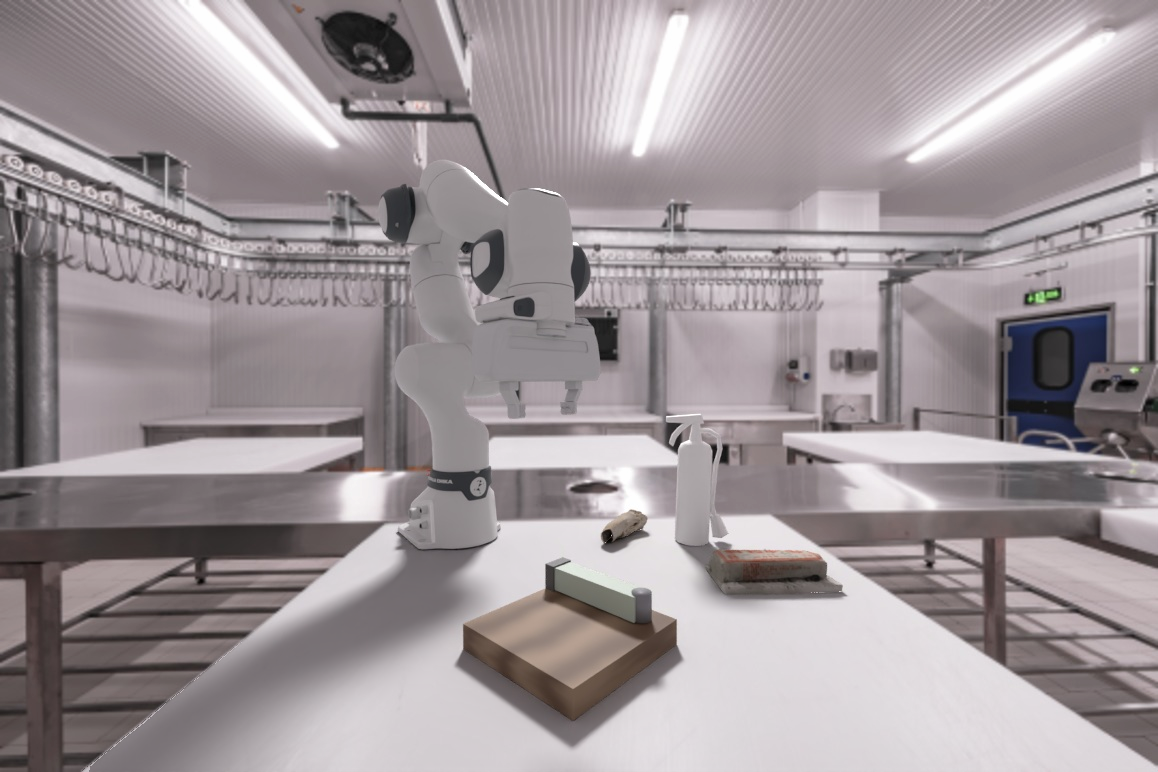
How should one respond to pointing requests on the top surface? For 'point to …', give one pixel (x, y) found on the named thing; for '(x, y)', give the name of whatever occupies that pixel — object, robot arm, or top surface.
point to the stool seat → (566, 648)
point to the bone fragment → (624, 525)
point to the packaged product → (770, 572)
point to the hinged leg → (599, 590)
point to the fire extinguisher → (696, 483)
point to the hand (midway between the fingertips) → (544, 416)
